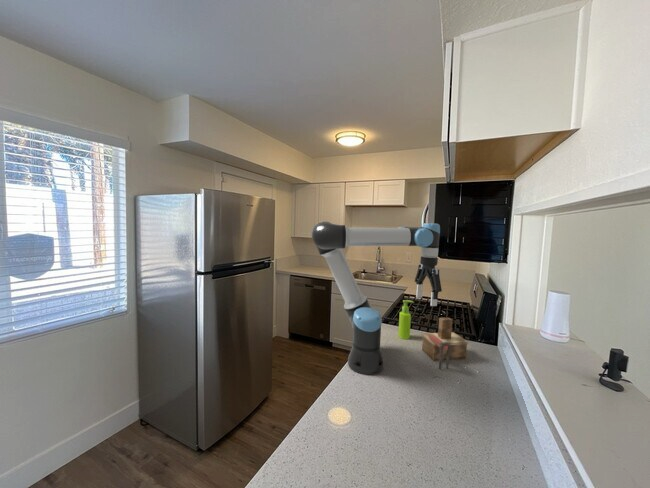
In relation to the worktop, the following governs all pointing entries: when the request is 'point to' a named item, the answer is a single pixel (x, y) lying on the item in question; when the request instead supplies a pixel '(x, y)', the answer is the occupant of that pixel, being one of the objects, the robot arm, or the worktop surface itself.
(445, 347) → the red bar
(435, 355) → the toolbox
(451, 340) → the wooden board with post
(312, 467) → the worktop surface
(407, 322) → the soap dispenser
